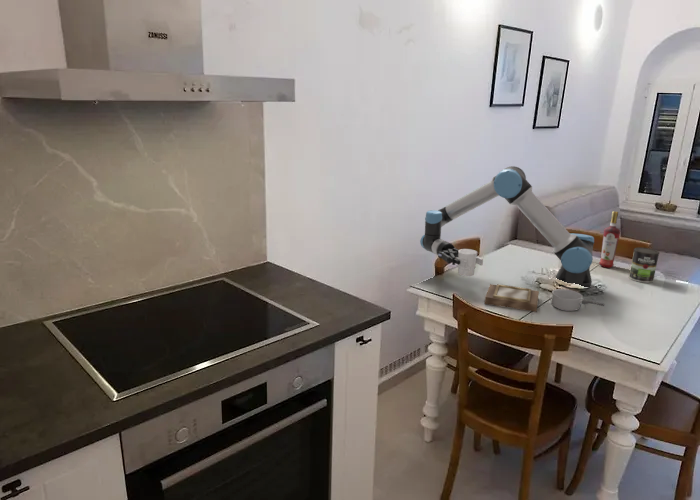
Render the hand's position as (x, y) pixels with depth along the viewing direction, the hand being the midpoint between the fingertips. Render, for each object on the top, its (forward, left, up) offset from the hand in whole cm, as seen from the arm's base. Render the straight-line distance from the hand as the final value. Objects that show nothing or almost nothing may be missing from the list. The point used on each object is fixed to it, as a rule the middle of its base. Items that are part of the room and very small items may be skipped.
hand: (473, 263), depth 214 cm
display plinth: (-17, +1, -14) cm, 22 cm away
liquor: (-57, -66, -14) cm, 88 cm away
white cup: (+3, -3, -6) cm, 8 cm away
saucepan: (-41, 0, -14) cm, 44 cm away
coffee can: (-71, -52, -14) cm, 89 cm away
